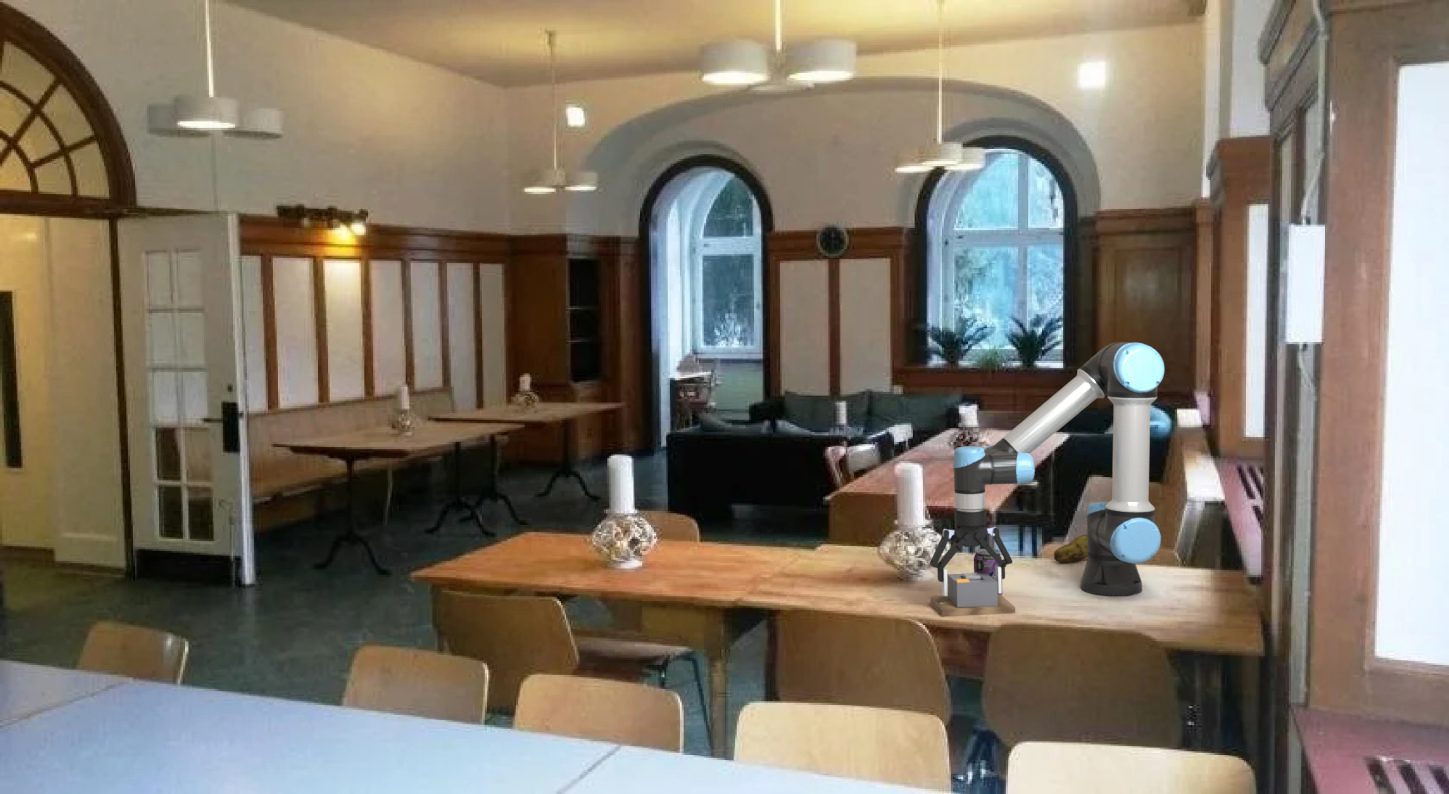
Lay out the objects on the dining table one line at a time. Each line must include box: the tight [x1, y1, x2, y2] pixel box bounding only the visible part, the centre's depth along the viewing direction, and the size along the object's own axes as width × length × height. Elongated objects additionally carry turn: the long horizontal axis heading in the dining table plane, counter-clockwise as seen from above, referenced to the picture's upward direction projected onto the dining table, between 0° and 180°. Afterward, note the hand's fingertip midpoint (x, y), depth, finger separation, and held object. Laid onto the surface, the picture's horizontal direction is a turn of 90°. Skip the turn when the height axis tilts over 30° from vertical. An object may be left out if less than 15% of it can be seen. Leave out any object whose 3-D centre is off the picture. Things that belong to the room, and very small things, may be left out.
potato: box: [1053, 533, 1088, 564], centre depth 344 cm, size 8×13×8 cm, turn 79°
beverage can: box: [973, 548, 1003, 596], centre depth 308 cm, size 7×7×12 cm
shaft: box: [961, 572, 980, 581], centre depth 298 cm, size 4×4×7 cm
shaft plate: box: [929, 594, 1016, 617], centre depth 298 cm, size 18×13×2 cm
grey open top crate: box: [947, 573, 998, 607], centre depth 298 cm, size 10×10×7 cm
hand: (971, 593), depth 298 cm, fingers open, 13 cm apart
